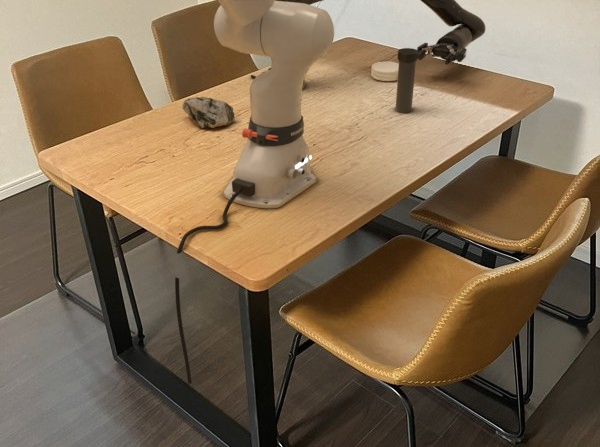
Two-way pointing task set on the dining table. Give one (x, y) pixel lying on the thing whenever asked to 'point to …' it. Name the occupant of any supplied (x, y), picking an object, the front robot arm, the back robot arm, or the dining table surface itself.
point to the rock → (208, 112)
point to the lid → (407, 55)
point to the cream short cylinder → (385, 71)
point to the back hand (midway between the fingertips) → (432, 59)
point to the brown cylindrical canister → (405, 86)
